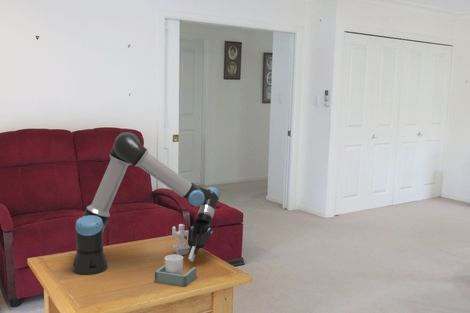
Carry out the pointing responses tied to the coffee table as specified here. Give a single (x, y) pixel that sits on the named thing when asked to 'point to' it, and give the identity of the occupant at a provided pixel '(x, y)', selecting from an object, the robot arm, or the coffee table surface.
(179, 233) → the figurine
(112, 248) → the coffee table surface
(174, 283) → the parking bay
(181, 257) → the white cup
